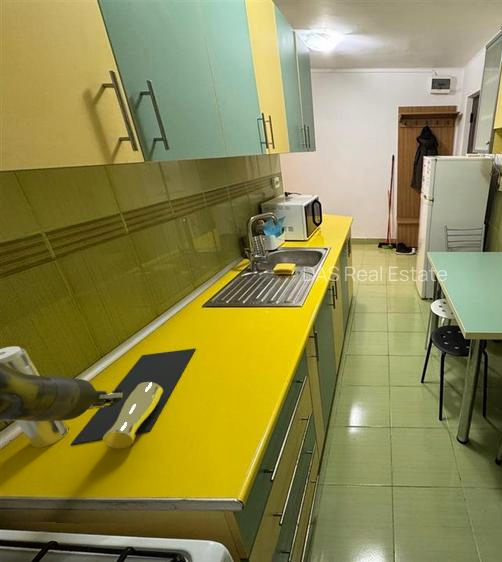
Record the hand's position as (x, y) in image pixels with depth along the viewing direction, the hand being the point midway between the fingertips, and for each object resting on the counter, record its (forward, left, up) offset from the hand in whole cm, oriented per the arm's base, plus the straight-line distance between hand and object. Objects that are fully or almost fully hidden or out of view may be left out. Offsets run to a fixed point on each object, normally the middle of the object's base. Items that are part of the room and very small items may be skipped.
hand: (115, 401), depth 71 cm
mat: (-4, +18, -11) cm, 21 cm away
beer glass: (0, -5, -8) cm, 9 cm away
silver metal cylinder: (-19, +4, -11) cm, 22 cm away
